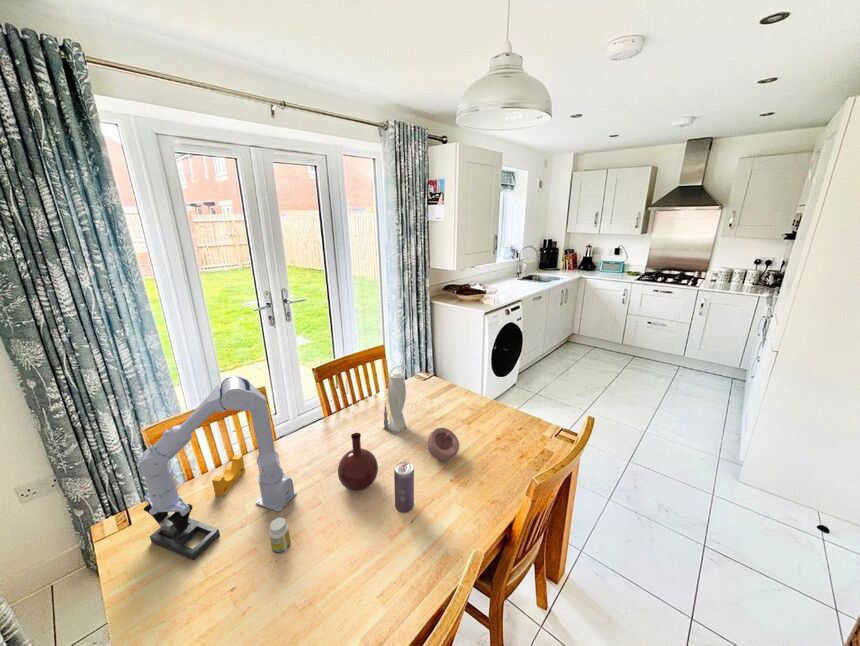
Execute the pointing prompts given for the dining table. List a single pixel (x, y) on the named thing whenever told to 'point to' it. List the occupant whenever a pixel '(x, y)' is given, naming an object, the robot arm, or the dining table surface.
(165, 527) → the block
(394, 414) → the skyscraper
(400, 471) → the beverage can
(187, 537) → the dark grey flat frame
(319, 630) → the dining table surface
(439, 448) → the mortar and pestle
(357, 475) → the round-bottom flask
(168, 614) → the dining table surface
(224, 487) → the pipe clamp
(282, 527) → the supplement bottle
